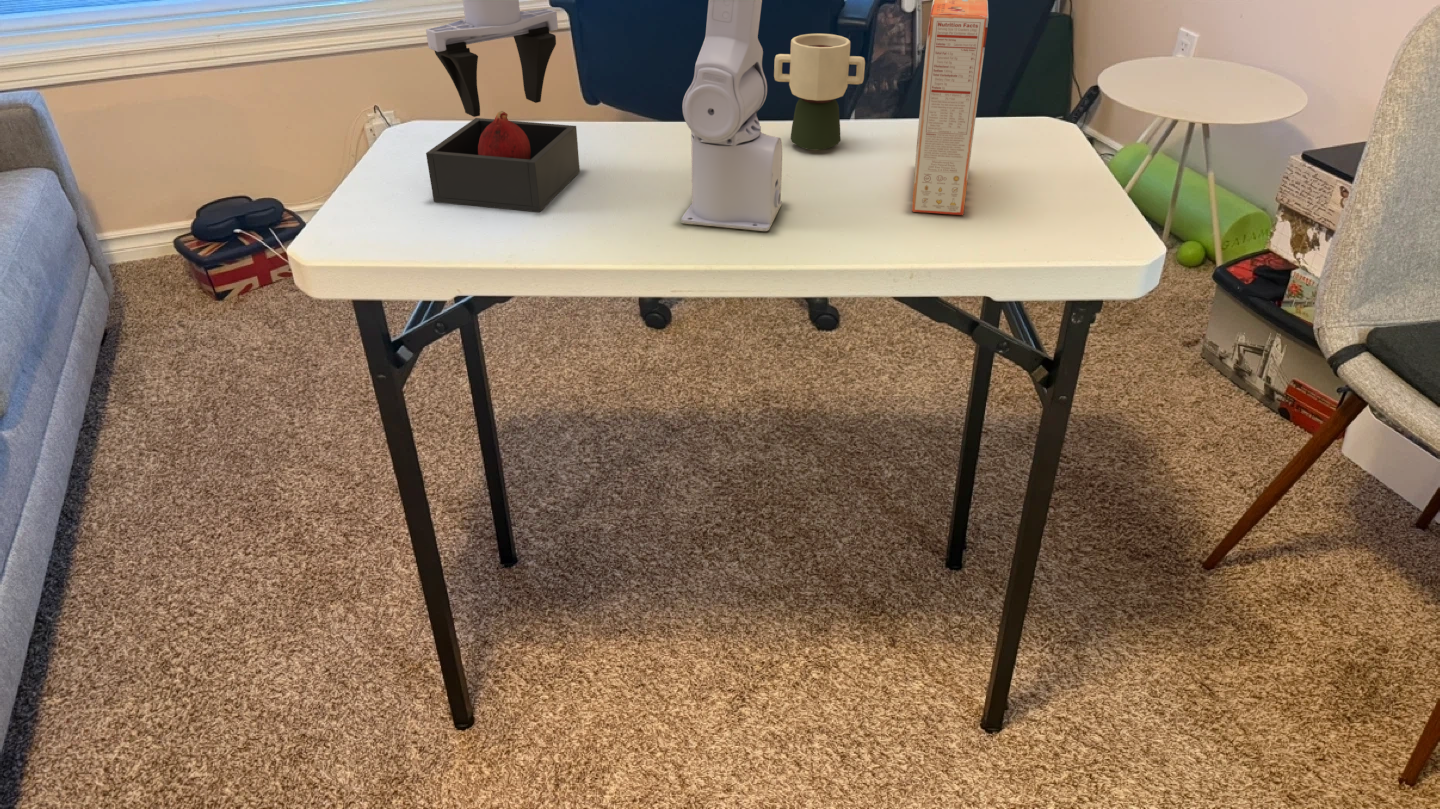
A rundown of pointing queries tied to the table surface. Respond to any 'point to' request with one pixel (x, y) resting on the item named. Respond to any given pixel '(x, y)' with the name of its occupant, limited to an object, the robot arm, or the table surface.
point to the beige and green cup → (818, 86)
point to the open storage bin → (504, 168)
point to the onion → (504, 139)
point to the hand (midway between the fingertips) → (503, 107)
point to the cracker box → (949, 104)
